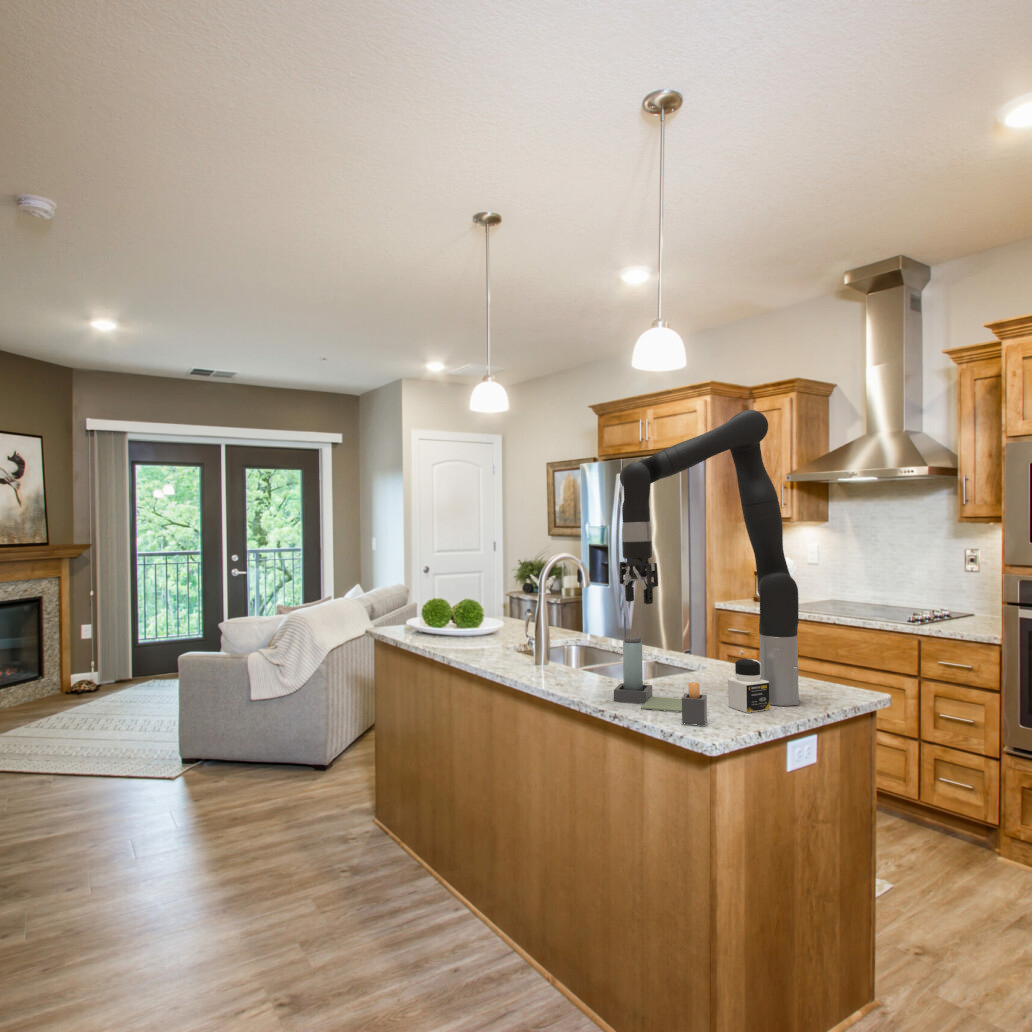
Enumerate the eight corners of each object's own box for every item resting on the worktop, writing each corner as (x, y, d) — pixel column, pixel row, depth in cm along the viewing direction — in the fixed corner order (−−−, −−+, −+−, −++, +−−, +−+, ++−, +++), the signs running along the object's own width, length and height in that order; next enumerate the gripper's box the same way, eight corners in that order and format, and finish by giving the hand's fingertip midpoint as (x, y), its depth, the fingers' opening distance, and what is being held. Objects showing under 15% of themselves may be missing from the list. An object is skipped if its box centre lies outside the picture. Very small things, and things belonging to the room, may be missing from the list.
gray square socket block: (707, 720, 170) (706, 694, 171) (704, 726, 166) (704, 699, 166) (685, 718, 172) (684, 693, 172) (682, 724, 168) (681, 698, 168)
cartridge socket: (652, 696, 195) (652, 685, 195) (646, 704, 187) (646, 692, 187) (621, 694, 198) (620, 683, 198) (613, 701, 190) (613, 689, 190)
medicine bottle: (747, 713, 176) (746, 663, 176) (727, 706, 183) (726, 658, 183) (770, 710, 179) (769, 661, 179) (750, 703, 186) (749, 656, 186)
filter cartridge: (644, 697, 194) (643, 637, 194) (641, 701, 189) (640, 639, 189) (626, 696, 195) (625, 636, 196) (621, 700, 191) (621, 639, 191)
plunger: (700, 706, 170) (700, 682, 170) (699, 709, 168) (698, 684, 168) (689, 705, 171) (689, 682, 171) (688, 708, 168) (688, 684, 168)
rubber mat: (696, 701, 188) (696, 699, 188) (690, 713, 177) (690, 711, 177) (649, 698, 193) (649, 696, 193) (641, 709, 181) (641, 707, 181)
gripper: (665, 539, 184) (667, 603, 184) (633, 539, 197) (635, 599, 197) (640, 540, 181) (642, 606, 181) (609, 540, 194) (611, 601, 194)
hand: (638, 602), depth 189 cm, fingers open, 8 cm apart
